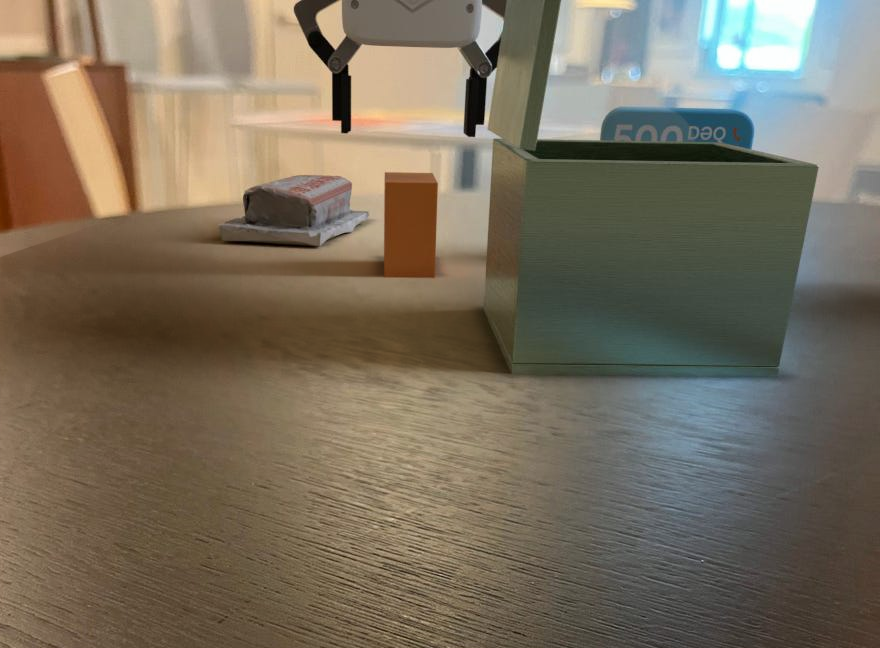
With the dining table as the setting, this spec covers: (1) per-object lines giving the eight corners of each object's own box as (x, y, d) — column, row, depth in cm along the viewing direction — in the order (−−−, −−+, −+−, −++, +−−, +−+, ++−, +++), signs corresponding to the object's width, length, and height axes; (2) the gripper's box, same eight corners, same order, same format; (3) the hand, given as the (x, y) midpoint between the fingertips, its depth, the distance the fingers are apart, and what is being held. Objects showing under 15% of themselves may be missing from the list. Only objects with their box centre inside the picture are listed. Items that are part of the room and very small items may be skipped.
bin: (694, 316, 70) (721, 142, 65) (776, 381, 56) (819, 164, 50) (483, 313, 70) (493, 138, 65) (511, 378, 55) (526, 160, 50)
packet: (430, 261, 88) (432, 172, 84) (434, 279, 81) (438, 182, 77) (383, 261, 88) (384, 172, 84) (384, 278, 81) (385, 182, 77)
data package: (589, 264, 88) (605, 107, 82) (588, 256, 92) (603, 106, 86) (731, 270, 87) (758, 111, 81) (724, 261, 90) (749, 109, 85)
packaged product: (278, 170, 108) (369, 173, 106) (280, 219, 110) (369, 223, 108) (214, 186, 92) (320, 191, 91) (218, 243, 95) (321, 249, 93)
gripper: (286, -154, 67) (293, 134, 76) (546, -145, 68) (524, 140, 76) (294, -136, 74) (299, 128, 82) (531, -127, 74) (512, 134, 83)
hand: (407, 134), depth 79 cm, fingers open, 9 cm apart
